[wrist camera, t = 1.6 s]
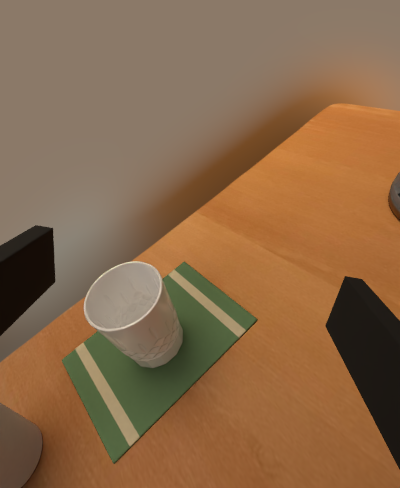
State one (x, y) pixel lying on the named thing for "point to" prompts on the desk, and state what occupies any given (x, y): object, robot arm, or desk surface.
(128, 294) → the white cup
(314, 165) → the desk surface
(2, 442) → the coffee cup
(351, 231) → the desk surface
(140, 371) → the cloth
